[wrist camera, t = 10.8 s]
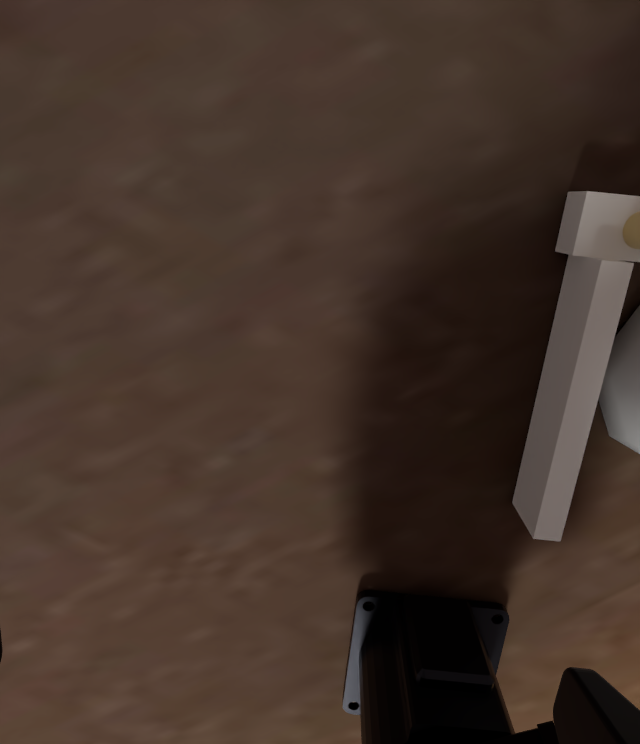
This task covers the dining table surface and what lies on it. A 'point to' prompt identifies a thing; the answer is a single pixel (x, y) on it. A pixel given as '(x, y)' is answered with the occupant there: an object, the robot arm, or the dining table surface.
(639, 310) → the flask
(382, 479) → the dining table surface
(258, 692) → the dining table surface
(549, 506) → the wall peg rack
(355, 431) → the dining table surface
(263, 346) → the dining table surface
